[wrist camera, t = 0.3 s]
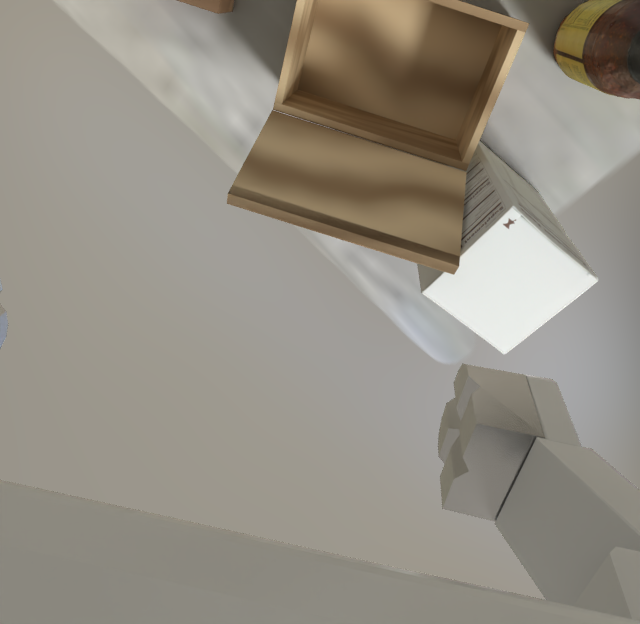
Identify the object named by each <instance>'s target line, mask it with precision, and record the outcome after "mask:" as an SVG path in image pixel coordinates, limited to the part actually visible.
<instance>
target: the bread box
mask: <svg viewBox="0 0 640 624" xmlns="http://www.w3.org/2000/svg"><path fill="white" fill-rule="evenodd" d="M528 25H529V23H526V22H523V21H520V20H517V19H514V18H511V17H508V16H505V15H502V14H499V13H496V12H493V11H490V10H487V9H484V8H481V7H478V6H475V5H471V4H468V3H465V2H462V1H459V0H297V2H296V7H295V12H294V16H293V21H292V25H291V30H290V34H289V39H288V44H287V48H286V53H285V57H284V62H283V66H282V71H281V76H280V80H279V85H278V89H277V94H276V98H275V103H274V108H273V110H276V111H279V112H282V113H285V114H288V115H292V116H295V117H298V118H301V119H304V120H307V121H310V122H314V123H317V124H320V125H323V126H326V127H329V128H332V129H336V130H339V131H342V132H345V133H348V134H351V135H354V136H357V137H361V138H364V139H367V140H370V141H373V142H376V143H379V144H383V145H386V146H389V147H392V148H395V149H398V150H401V151H405V152H408V153H411V154H414V155H417V156H420V157H423V158H426V159H430V160H433V161H436V162H439V163H442V164H445V165H448V166H452V167H455V168H458V169H461V170H464V171H467V168H468V166H469V164H470V161H471V159H472V156H473V154H474V152H475V149H476V147H477V145H478V142H479V140H480V138H481V135H482V133H483V131H484V128H485V126H486V124H487V121H488V119H489V117H490V114H491V112H492V110H493V107H494V105H495V103H496V100H497V98H498V96H499V93H500V91H501V89H502V86H503V84H504V82H505V79H506V77H507V75H508V72H509V70H510V68H511V65H512V63H513V61H514V58H515V56H516V54H517V51H518V49H519V46H520V44H521V42H522V39H523V37H524V35H525V32H526V30H527V28H528Z"/></svg>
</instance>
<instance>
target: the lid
mask: <svg viewBox="0 0 640 624" xmlns="http://www.w3.org/2000/svg"><path fill="white" fill-rule="evenodd" d="M466 173H467V172H464V171H461V170H458V169H455V168H452V167H449V166H445V165H442V164H439V163H436V162H433V161H430V160H427V159H423V158H420V157H417V156H414V155H411V154H408V153H405V152H402V151H398V150H395V149H392V148H389V147H386V146H383V145H380V144H376V143H373V142H370V141H367V140H364V139H361V138H358V137H354V136H351V135H348V134H345V133H342V132H339V131H336V130H332V129H329V128H326V127H323V126H320V125H317V124H314V123H311V122H307V121H304V120H301V119H298V118H295V117H292V116H289V115H285V114H282V113H279V112H276V111H273V110H272V112H271V114H270V116H269V117H268V119H267V121H266V123H265V125H264V127H263V129H262V131H261V132H260V134H259V136H258V138H257V140H256V142H255V144H254V146H253V147H252V149H251V151H250V153H249V155H248V157H247V159H246V161H245V162H244V164H243V166H242V168H241V170H240V172H239V174H238V176H237V177H236V179H235V181H234V183H233V185H232V187H231V189H230V191H229V193H228V198H227V204H230V205H233V206H237V207H240V208H243V209H246V210H249V211H252V212H256V213H259V214H262V215H265V216H269V217H272V218H275V219H278V220H281V221H284V222H287V223H291V224H294V225H297V226H300V227H303V228H306V229H310V230H313V231H316V232H319V233H322V234H326V235H329V236H332V237H335V238H338V239H341V240H345V241H348V242H351V243H354V244H357V245H361V246H364V247H367V248H370V249H373V250H376V251H380V252H383V253H386V254H389V255H392V256H396V257H399V258H402V259H405V260H408V261H411V262H415V263H418V264H421V265H424V266H427V267H431V268H434V269H437V270H440V271H443V272H446V273H450V274H453V275H454V274H455V272H456V271H457V269H458V267H459V262H460V250H461V237H462V224H463V211H464V198H465V186H466Z"/></svg>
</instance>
